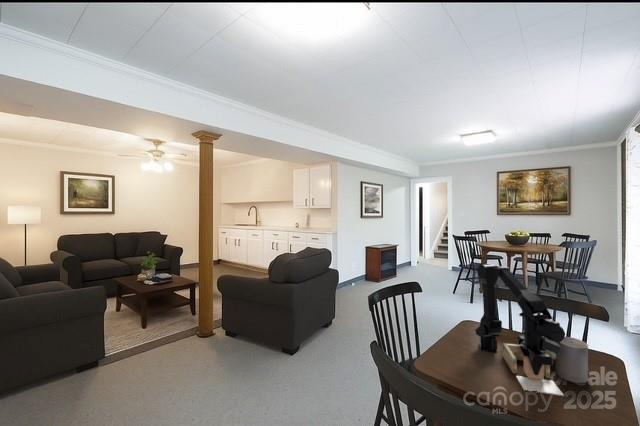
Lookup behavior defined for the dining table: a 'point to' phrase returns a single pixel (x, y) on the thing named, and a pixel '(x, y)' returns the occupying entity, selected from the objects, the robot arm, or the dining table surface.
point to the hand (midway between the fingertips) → (533, 371)
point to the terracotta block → (530, 372)
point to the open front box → (517, 358)
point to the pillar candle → (572, 360)
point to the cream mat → (539, 385)
